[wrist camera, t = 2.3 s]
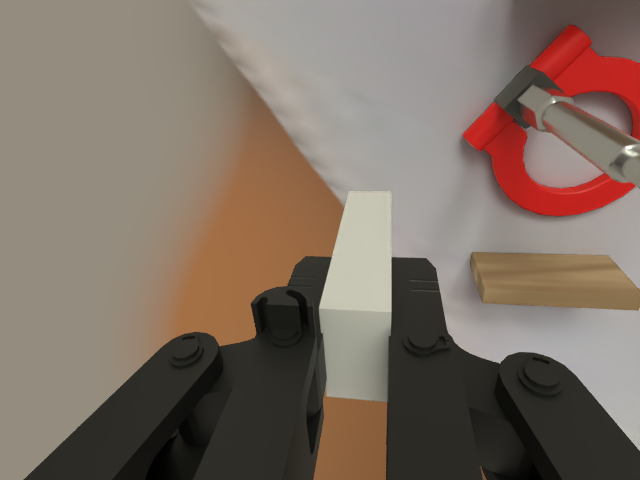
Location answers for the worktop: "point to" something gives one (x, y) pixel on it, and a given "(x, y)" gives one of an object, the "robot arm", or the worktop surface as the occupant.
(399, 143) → the worktop surface
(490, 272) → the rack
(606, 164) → the tow hook
